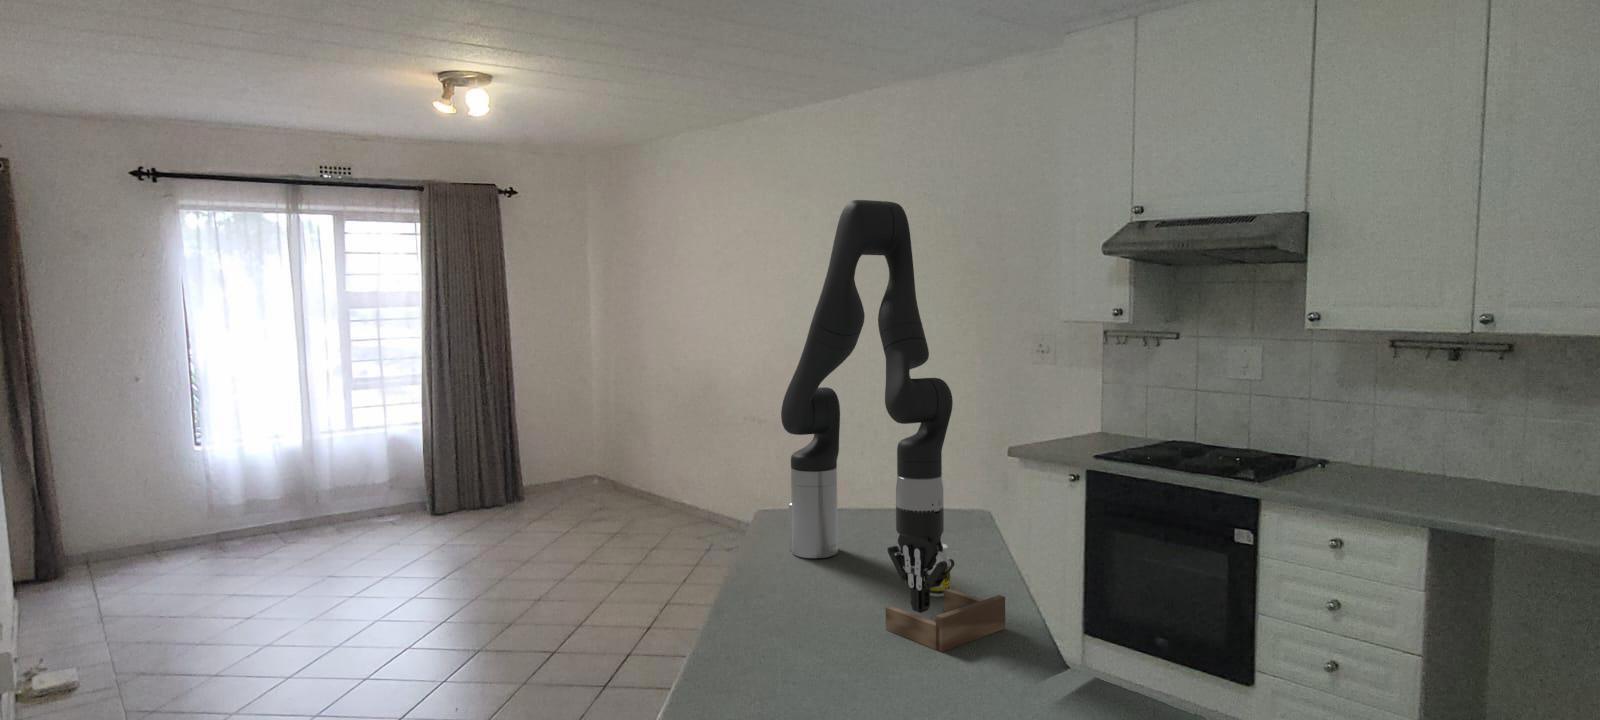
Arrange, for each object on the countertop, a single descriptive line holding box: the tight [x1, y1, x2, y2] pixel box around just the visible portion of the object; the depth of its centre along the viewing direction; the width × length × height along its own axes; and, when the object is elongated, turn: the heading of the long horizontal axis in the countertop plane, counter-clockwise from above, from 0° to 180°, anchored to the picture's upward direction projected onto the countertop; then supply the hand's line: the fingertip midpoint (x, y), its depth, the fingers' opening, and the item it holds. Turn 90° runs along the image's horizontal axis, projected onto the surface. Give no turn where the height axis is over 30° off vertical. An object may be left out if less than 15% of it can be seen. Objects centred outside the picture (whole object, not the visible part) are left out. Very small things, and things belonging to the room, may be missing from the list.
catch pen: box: [885, 588, 1006, 653], centre depth 131 cm, size 12×14×5 cm
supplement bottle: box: [924, 543, 951, 597], centre depth 148 cm, size 5×5×8 cm
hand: (920, 610), depth 135 cm, fingers closed
